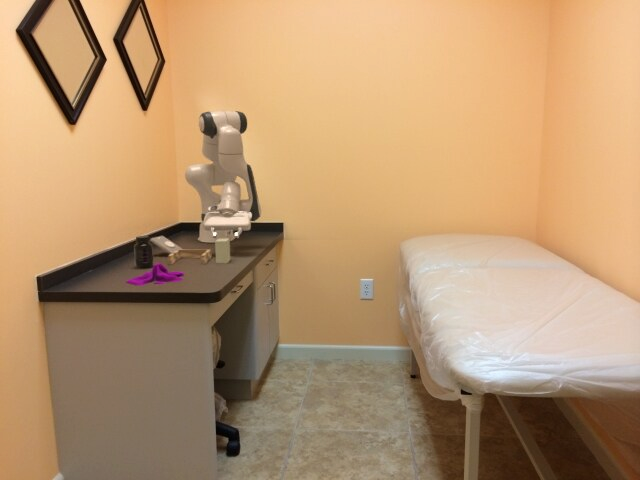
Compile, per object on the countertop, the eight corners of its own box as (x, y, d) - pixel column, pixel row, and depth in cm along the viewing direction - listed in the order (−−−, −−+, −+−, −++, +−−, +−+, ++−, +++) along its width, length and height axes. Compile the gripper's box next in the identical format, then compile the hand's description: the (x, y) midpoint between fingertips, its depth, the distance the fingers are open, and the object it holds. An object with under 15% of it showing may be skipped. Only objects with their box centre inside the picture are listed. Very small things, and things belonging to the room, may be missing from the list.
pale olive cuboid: (219, 259, 208) (218, 238, 206) (230, 259, 208) (229, 238, 206) (216, 263, 201) (215, 241, 199) (227, 263, 201) (226, 241, 199)
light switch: (177, 253, 212) (151, 236, 215) (172, 265, 214) (146, 248, 217) (188, 250, 220) (163, 233, 223) (183, 261, 222) (158, 244, 225)
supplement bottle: (134, 265, 198) (132, 235, 196) (152, 264, 200) (151, 234, 198) (135, 269, 191) (133, 238, 189) (154, 267, 194) (152, 237, 192)
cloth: (119, 287, 167) (118, 269, 166) (139, 274, 185) (138, 258, 184) (186, 287, 167) (185, 269, 166) (199, 274, 185) (198, 257, 184)
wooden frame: (177, 257, 213) (177, 249, 212) (211, 257, 213) (211, 249, 212) (168, 264, 199) (167, 256, 198) (204, 264, 199) (203, 255, 198)
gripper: (253, 215, 221) (251, 241, 213) (207, 216, 221) (203, 241, 213) (251, 206, 216) (249, 232, 208) (204, 207, 216) (200, 233, 208)
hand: (225, 237), depth 210 cm, fingers open, 8 cm apart
